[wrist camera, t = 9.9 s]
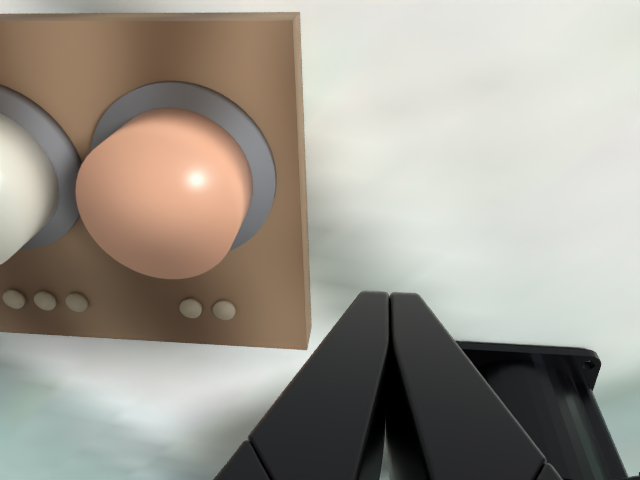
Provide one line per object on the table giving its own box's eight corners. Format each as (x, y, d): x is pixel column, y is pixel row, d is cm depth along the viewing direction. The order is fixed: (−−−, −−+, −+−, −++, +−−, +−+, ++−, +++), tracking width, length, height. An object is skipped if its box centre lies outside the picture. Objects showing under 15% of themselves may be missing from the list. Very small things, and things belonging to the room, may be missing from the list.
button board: (299, 12, 17) (289, 23, 16) (311, 326, 24) (305, 358, 22) (-303, 15, 20) (-368, 25, 18) (-139, 302, 26) (-175, 329, 25)
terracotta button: (246, 108, 17) (227, 135, 15) (258, 244, 20) (243, 282, 18) (95, 106, 18) (56, 132, 16) (126, 238, 20) (96, 275, 18)
